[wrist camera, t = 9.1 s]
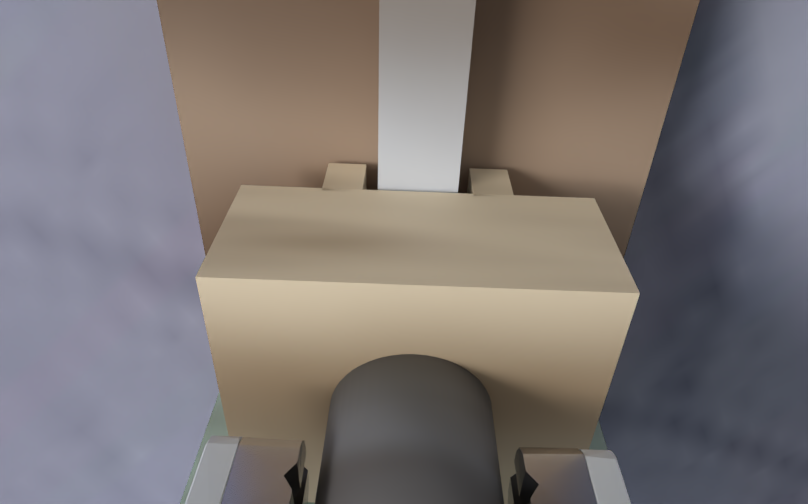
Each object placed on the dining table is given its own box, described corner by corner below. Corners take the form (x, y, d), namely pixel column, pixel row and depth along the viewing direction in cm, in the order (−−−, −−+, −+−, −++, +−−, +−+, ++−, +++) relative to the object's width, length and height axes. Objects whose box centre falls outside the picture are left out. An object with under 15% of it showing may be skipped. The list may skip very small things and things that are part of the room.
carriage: (537, 371, 16) (619, 742, 10) (278, 361, 16) (182, 727, 10) (582, 172, 13) (756, 537, 6) (253, 159, 13) (78, 512, 6)
